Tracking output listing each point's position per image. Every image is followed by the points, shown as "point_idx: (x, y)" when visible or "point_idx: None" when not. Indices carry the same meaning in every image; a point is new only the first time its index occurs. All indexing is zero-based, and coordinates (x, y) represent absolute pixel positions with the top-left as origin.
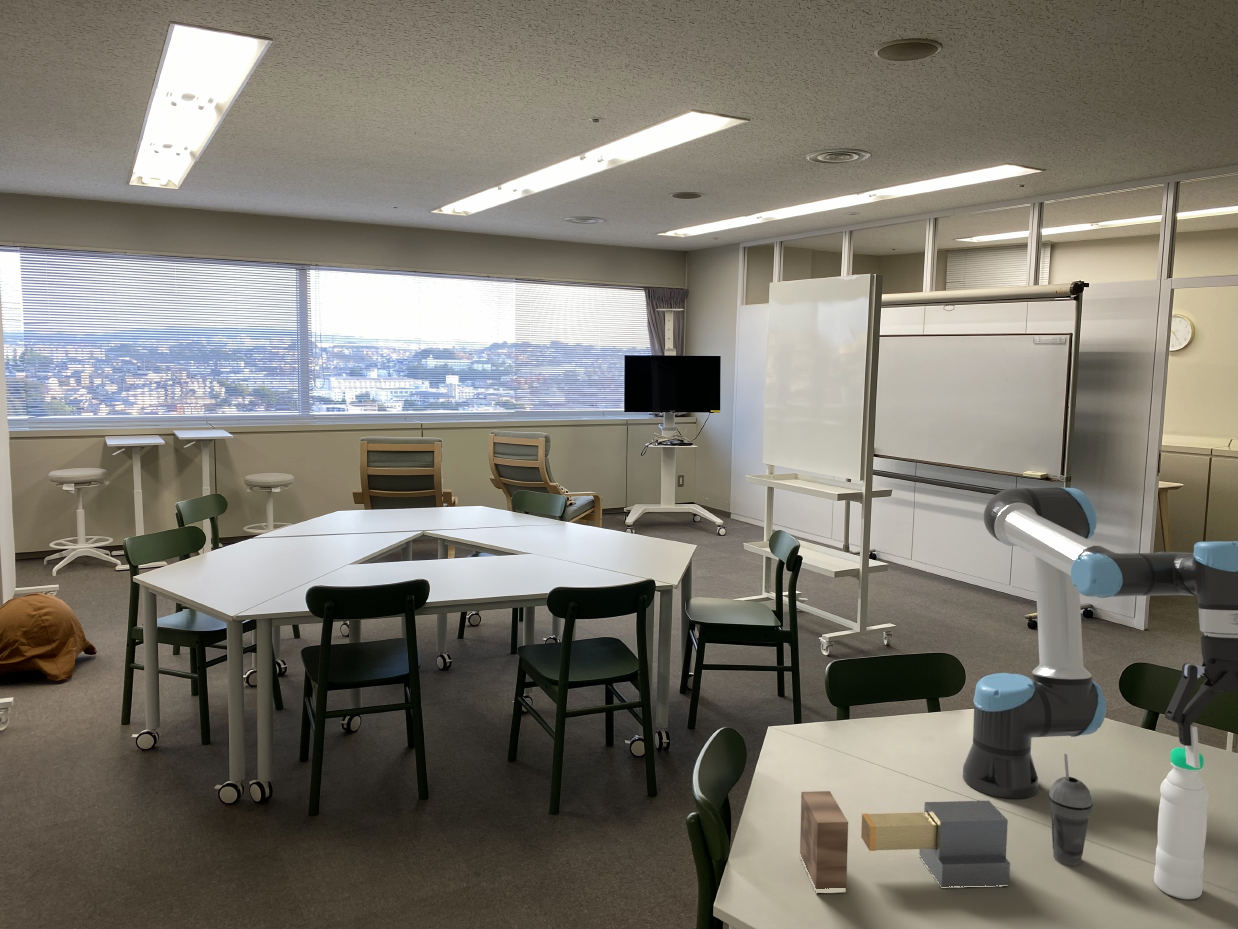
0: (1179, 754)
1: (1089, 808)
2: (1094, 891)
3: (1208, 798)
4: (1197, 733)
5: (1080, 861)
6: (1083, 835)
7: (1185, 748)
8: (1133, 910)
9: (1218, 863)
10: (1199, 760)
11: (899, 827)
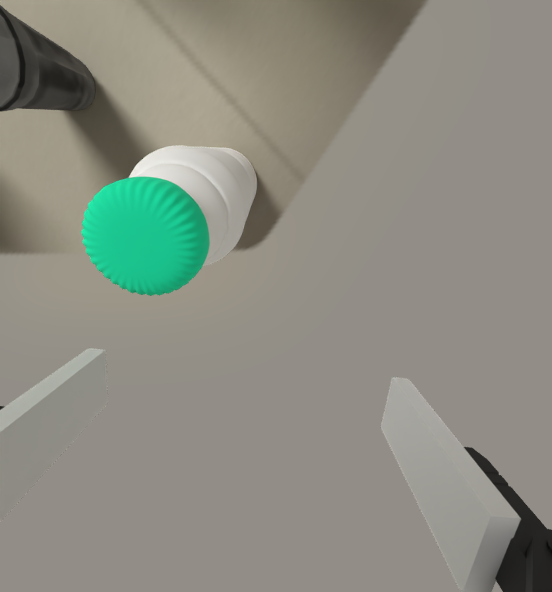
0: (98, 263)
1: (12, 103)
2: (96, 189)
3: (231, 250)
4: (3, 518)
5: (90, 99)
6: (55, 102)
7: (46, 380)
8: None
9: (344, 96)
10: (93, 418)
11: None
